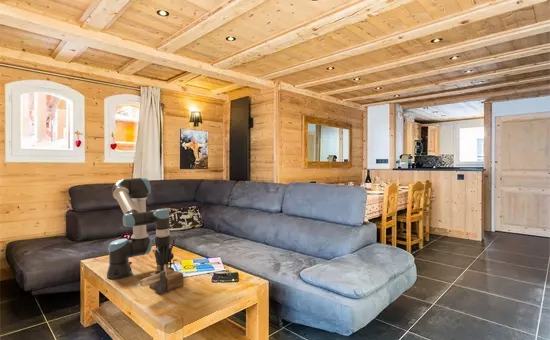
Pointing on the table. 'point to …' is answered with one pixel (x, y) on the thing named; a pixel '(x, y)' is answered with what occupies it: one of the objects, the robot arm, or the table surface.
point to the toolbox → (166, 284)
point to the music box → (170, 261)
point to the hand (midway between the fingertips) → (164, 275)
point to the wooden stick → (150, 279)
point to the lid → (169, 273)
